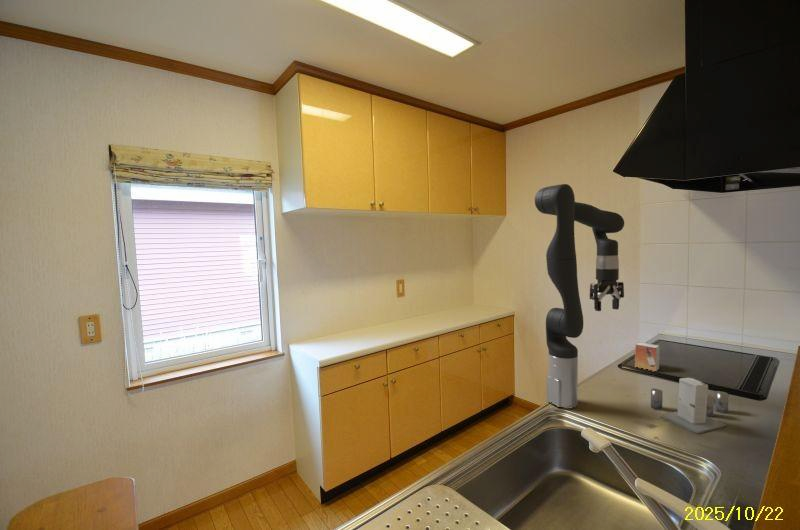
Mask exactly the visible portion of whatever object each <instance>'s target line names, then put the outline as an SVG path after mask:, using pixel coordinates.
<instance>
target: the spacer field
mask: <svg viewBox="0 0 800 530" xmlns="http://www.w3.org/2000/svg"><path fill="white" fill-rule="evenodd" d="M663 394H664V393H663V390H662V389H658V388H650V408H651V409H652V410H655V411H656V410H657V411H662V410H663V399H664V398H663V397H664V396H663ZM714 395H715V397H714V396H712V395H710V394H707V409H706V417H708V418H713V417H714V411H716V412H718V413H721V414H728V413H729V397H730V396H729V395H730V394H729V393H727V392H725V391H722V390H721V391H720V390H718V391H717V390H716V391H715V394H714ZM714 398H715V399H714ZM714 402H715V403H714ZM714 404H715V405H714ZM714 409H715V410H714Z"/></svg>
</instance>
